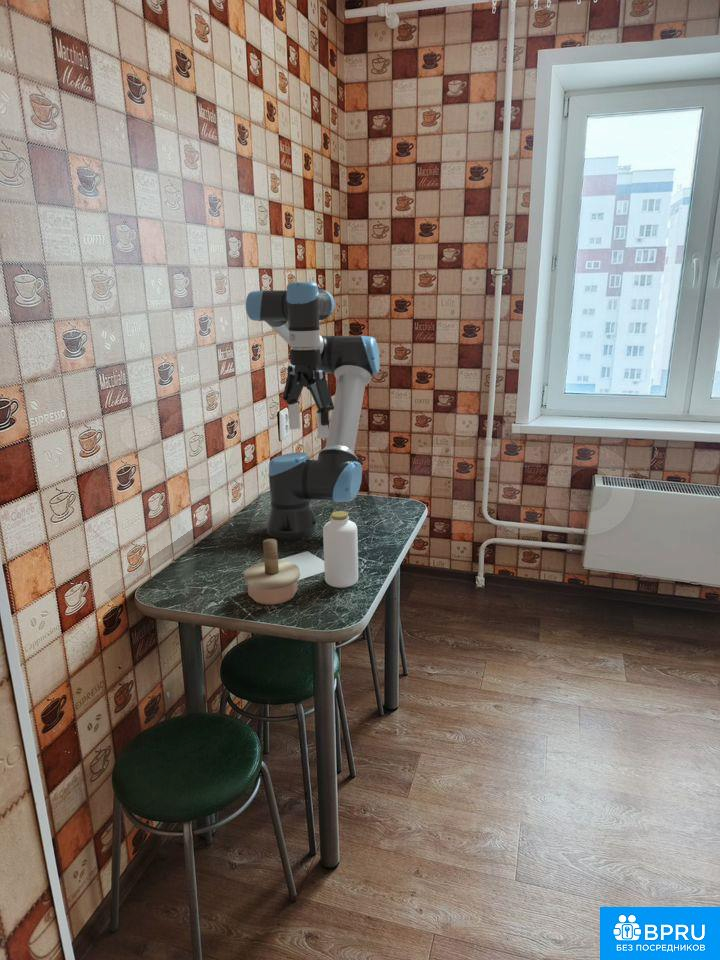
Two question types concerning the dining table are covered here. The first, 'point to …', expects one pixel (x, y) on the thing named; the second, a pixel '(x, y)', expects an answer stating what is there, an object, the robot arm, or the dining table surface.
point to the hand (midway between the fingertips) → (308, 433)
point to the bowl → (273, 594)
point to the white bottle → (340, 551)
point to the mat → (306, 564)
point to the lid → (271, 570)
